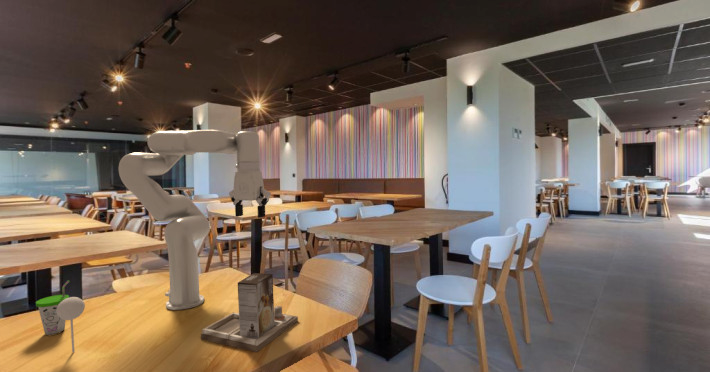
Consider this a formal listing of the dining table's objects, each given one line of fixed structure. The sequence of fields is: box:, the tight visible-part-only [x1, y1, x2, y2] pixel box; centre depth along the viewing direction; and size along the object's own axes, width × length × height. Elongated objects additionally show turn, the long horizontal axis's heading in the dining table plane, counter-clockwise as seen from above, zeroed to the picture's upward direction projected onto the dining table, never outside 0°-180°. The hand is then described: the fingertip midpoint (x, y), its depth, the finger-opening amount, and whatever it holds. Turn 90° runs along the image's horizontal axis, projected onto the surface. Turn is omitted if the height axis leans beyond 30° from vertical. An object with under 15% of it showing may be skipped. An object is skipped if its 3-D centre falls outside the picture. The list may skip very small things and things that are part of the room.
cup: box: [35, 280, 70, 336], centre depth 105 cm, size 8×8×15 cm
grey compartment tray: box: [200, 305, 299, 353], centre depth 104 cm, size 20×20×5 cm
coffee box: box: [237, 272, 275, 340], centre depth 99 cm, size 9×6×16 cm
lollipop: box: [56, 296, 86, 353], centre depth 93 cm, size 6×6×15 cm
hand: (250, 216), depth 120 cm, fingers open, 9 cm apart
